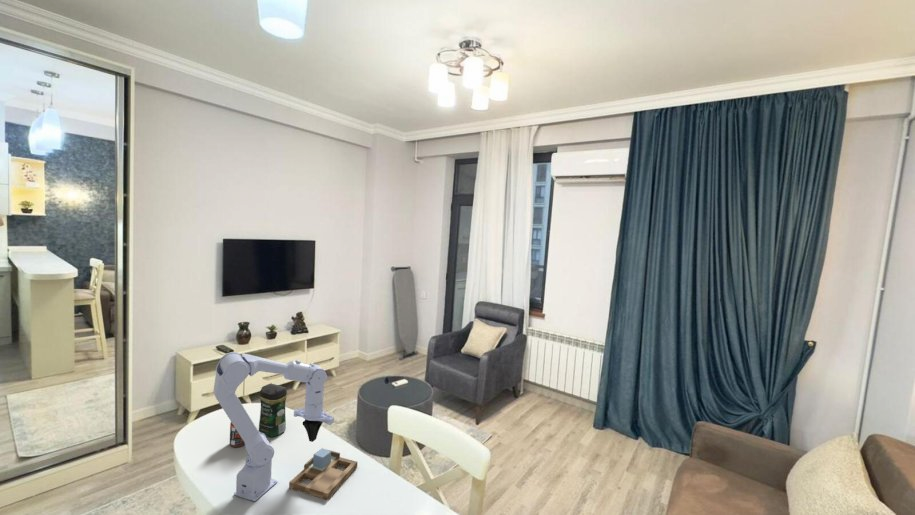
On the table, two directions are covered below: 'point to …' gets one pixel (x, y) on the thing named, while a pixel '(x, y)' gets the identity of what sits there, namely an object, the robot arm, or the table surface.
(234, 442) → the supplement bottle
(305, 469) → the brown compartment tray
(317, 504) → the table surface
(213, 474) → the table surface
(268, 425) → the coffee jar
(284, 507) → the table surface
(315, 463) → the slate block
